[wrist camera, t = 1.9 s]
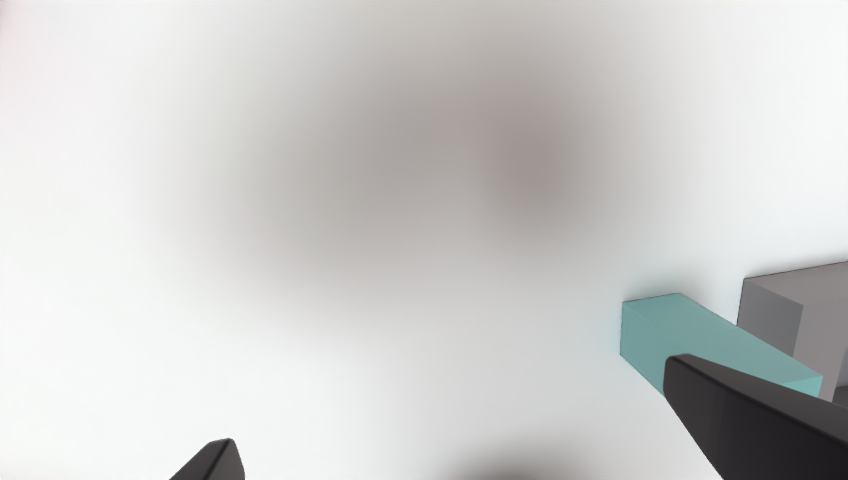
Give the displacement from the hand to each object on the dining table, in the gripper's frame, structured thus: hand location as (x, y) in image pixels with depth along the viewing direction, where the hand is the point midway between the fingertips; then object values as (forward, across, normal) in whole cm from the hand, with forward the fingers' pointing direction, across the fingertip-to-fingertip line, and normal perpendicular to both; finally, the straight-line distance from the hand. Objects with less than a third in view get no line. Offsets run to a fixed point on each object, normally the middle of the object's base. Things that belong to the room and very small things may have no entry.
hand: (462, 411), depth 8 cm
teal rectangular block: (+13, -14, +8) cm, 21 cm away
